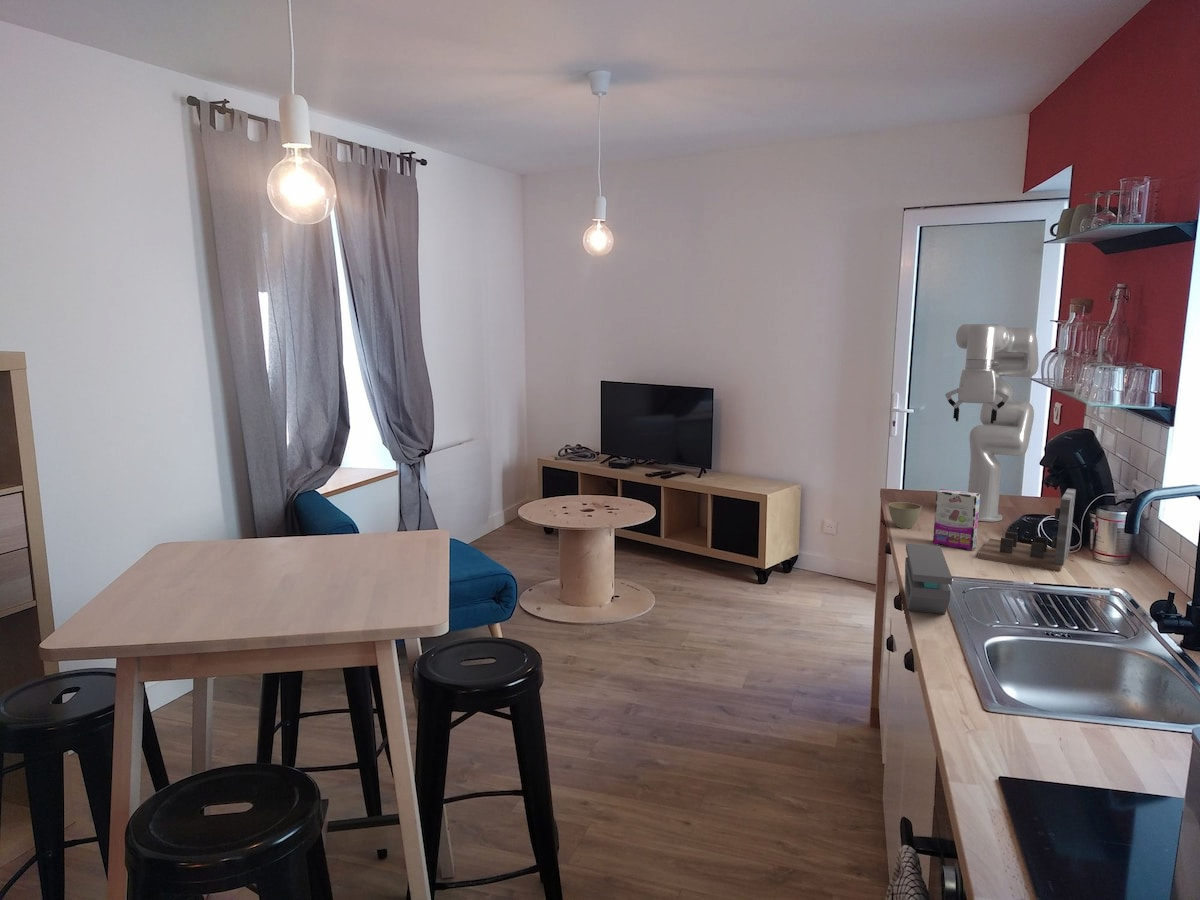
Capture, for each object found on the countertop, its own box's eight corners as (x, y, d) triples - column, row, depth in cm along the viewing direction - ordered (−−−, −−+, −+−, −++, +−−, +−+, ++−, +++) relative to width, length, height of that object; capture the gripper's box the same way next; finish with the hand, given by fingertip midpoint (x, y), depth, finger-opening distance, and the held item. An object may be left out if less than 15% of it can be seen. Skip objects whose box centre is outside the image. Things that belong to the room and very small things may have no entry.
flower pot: (914, 523, 252) (916, 502, 250) (924, 531, 242) (926, 509, 241) (883, 522, 253) (885, 501, 251) (892, 530, 243) (893, 508, 242)
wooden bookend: (989, 543, 229) (995, 479, 226) (1069, 555, 217) (1076, 488, 213) (977, 558, 214) (983, 490, 211) (1062, 572, 202) (1069, 500, 199)
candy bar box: (976, 547, 225) (981, 493, 222) (972, 551, 221) (977, 496, 218) (937, 540, 232) (941, 487, 229) (932, 544, 228) (936, 490, 225)
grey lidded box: (948, 625, 167) (952, 578, 165) (910, 621, 170) (913, 574, 168) (937, 588, 191) (940, 546, 189) (903, 584, 193) (906, 543, 191)
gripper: (1011, 366, 229) (1005, 422, 232) (948, 364, 237) (943, 419, 239) (1012, 366, 222) (1006, 425, 225) (947, 365, 230) (942, 421, 232)
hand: (974, 422), depth 232 cm, fingers open, 9 cm apart
